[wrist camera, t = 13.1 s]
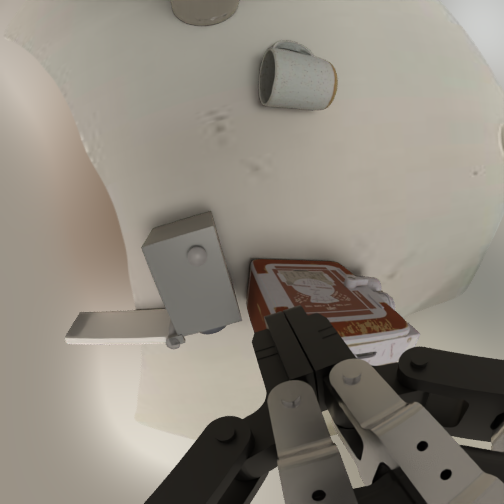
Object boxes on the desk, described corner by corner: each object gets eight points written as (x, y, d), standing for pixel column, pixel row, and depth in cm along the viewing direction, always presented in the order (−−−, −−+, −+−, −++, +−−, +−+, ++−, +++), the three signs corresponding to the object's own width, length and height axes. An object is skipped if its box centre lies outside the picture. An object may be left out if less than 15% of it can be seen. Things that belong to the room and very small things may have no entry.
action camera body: (140, 232, 35) (123, 254, 27) (211, 211, 36) (213, 227, 28) (173, 316, 40) (169, 354, 32) (236, 299, 41) (246, 334, 32)
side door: (82, 319, 37) (67, 346, 30) (79, 310, 36) (63, 336, 30) (182, 315, 40) (180, 345, 33) (181, 305, 39) (178, 334, 32)
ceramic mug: (317, 115, 34) (343, 107, 27) (257, 111, 32) (272, 98, 25) (314, 49, 30) (338, 29, 23) (257, 41, 29) (271, 16, 22)
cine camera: (353, 304, 45) (422, 379, 26) (241, 307, 41) (272, 412, 23) (366, 254, 42) (453, 315, 24) (247, 249, 38) (290, 336, 20)
